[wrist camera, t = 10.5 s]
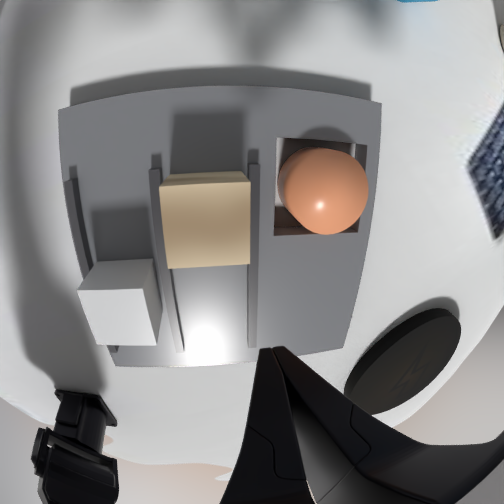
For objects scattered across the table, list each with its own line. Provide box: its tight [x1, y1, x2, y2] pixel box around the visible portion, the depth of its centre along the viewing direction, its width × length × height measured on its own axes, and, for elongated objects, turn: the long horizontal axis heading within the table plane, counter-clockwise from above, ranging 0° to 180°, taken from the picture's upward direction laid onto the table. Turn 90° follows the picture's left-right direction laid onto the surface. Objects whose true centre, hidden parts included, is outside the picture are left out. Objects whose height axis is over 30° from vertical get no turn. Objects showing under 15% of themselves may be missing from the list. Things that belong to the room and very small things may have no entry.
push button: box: [278, 147, 369, 235], centre depth 16 cm, size 5×5×3 cm
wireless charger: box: [344, 308, 461, 415], centre depth 28 cm, size 18×18×2 cm
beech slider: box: [159, 171, 251, 269], centre depth 14 cm, size 4×4×4 cm
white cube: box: [77, 258, 163, 346], centre depth 15 cm, size 4×4×4 cm
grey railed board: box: [58, 85, 382, 367], centre depth 17 cm, size 20×20×2 cm
